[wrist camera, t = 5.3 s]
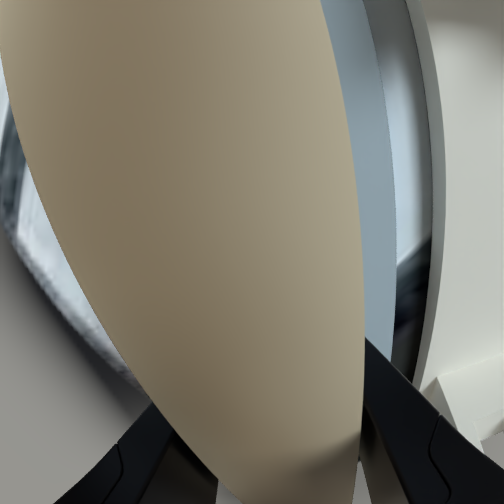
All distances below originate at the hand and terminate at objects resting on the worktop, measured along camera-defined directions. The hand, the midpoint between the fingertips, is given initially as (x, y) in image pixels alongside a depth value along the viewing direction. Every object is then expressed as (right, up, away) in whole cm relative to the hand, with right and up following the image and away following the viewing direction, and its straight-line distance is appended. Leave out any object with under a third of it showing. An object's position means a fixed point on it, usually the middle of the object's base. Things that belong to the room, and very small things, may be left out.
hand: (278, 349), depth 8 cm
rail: (0, 0, 0) cm, 0 cm away
